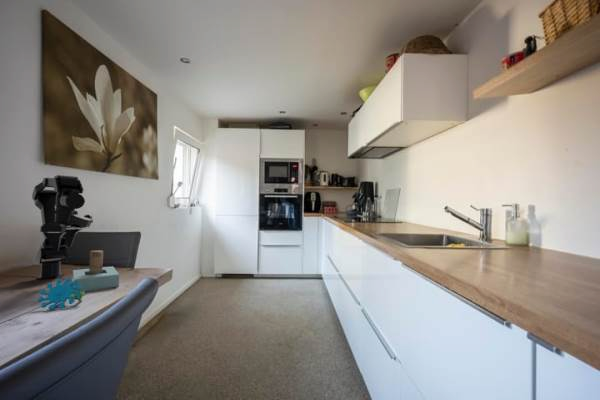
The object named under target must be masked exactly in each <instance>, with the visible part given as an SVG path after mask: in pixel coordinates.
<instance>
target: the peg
mask: <svg viewBox="0 0 600 400" xmlns="http://www.w3.org/2000/svg"><path fill="white" fill-rule="evenodd" d="M89 253H90V254H89V266H88V269H89V275H93V274H102V267H103V266H104V265H103V264H104V250H91V251H90V252H89Z"/></svg>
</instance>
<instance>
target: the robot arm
mask: <svg viewBox="0 0 600 400" xmlns="http://www.w3.org/2000/svg"><path fill="white" fill-rule="evenodd" d="M46 188H53V189H46ZM83 193H84V187H83V185H82V182H81V180H80V179H79V178H78V177H77V176H75V175H74V176H72V175H60V174H56V175H54V177H43V179H42V181H41V182H40V183H38V184H37V185H35V186H34V187H33V191H32V193H31V195H32V196H31V200H33V202H34V206H35V207H37V208H38V209H39V210H40V215H41V223H42V225H41V226H40V228H39V229H40V230H39V231H40V233H42V235H43V238H44V240H43V242H42V244H41V245H40V246H39V249H38V251H37V254H36V257H35V262H36V264H38V265H41V270H40V275H39V276H37V277H36V280H39V279H40V280H43V279H58V278H59V277H61V276H62V277H63V276H64V275H65V274H64V273H63V272H61V262H67V261H68V254H69V250H70V249H68V248H71V247H72V245H73V243H74V240H75V239H76V237H77V234H78V233H79V232H81V231H82V230H83V229H85V228H86V229H87V228H90V226H91V225H92V224H93V222H94V221H93V220H94V219H93V216H92V215H91V214H85V215H79V214H78V213H79V212H78V211H77V209H80V208H82V207H83V206H85V203H86V199H85V197H84V196H83Z"/></svg>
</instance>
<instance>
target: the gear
mask: <svg viewBox="0 0 600 400" xmlns="http://www.w3.org/2000/svg"><path fill="white" fill-rule="evenodd" d="M55 281H56V284H55V286H54V284H53V283H52V282H49V283H47V284H46V287H47V288H48V289H49V291H46V289H44V288H43V289H41V290H40V291H39V294H40V295H46V297H43V296H38V298H37V302H38V303H40V305H41V307H42V308H46V307H47V306H48V309H49V310H51V311H54V310H55V309H56V307H57V305H58V308H59V309H65V308H66V304H65V303H66V302H68V304H70V305H71V304H74V303H75V301H78V302H79V303H82V301H83V300H82V298H83V297H85V295H86V291H81V292H74V291H73V290H74V289H77V290H81V285H78V286H75V287H73V285H77V284H78V281H77V280H74V281H73V282H72V278H70V277H66V278H65V281H63V280H62V278H56V280H55ZM67 300H68V301H67ZM43 301H44V302H43ZM46 301H47V302H46Z"/></svg>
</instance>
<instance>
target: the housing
mask: <svg viewBox="0 0 600 400" xmlns="http://www.w3.org/2000/svg"><path fill="white" fill-rule="evenodd" d="M71 280H72V281H71V283H72V282H73V281H74V280H77V281H78V284H77V285H72V287H75V286H78V285H81V290H77V289H74V290H73V291H74V292H81V291H84V292H89V291H95V290H102V289H104V290H105V289H109V288H116V287H119V285H120V273H119V272H118V271H117V270H116V268H115V267H114V265H113V266H104V267H103V266H102V274H93V275H89V268H83V269H74V270H72V278H71Z"/></svg>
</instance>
